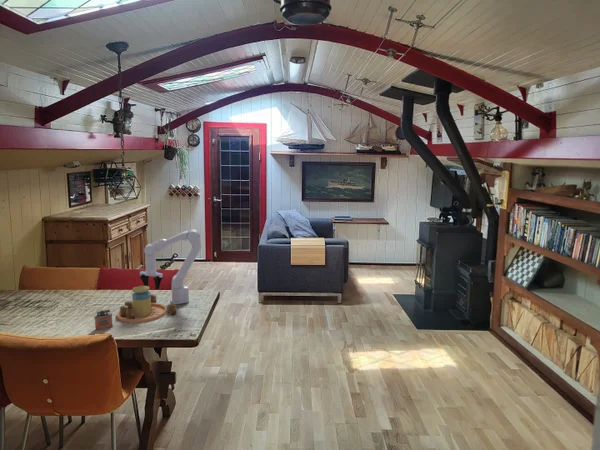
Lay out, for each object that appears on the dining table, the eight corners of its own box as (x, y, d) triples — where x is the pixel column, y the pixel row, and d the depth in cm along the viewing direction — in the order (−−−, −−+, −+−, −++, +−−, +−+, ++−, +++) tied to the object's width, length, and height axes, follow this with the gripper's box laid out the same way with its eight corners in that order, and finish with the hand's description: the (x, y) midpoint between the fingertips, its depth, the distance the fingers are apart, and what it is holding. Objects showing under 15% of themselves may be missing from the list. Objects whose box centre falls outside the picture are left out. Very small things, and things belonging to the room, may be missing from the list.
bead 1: (156, 302, 254) (155, 293, 253) (156, 304, 250) (156, 295, 249) (148, 303, 252) (148, 294, 251) (149, 305, 248) (149, 296, 248)
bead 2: (175, 312, 238) (175, 303, 237) (177, 314, 235) (176, 305, 234) (168, 313, 237) (167, 304, 236) (169, 315, 233) (168, 306, 232)
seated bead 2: (132, 309, 239) (132, 300, 239) (133, 311, 236) (132, 302, 235) (125, 310, 238) (124, 301, 237) (125, 312, 234) (124, 304, 233)
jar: (150, 310, 240) (149, 284, 237) (152, 316, 232) (151, 289, 229) (132, 313, 236) (131, 286, 234) (134, 319, 228) (132, 291, 225)
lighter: (95, 332, 211) (93, 312, 209) (95, 329, 214) (93, 310, 212) (113, 329, 215) (112, 309, 213) (112, 326, 218) (111, 307, 216)
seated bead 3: (134, 317, 228) (133, 308, 227) (135, 320, 224) (134, 310, 224) (126, 318, 226) (125, 309, 226) (126, 321, 223) (126, 311, 222)
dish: (163, 304, 250) (163, 300, 250) (170, 319, 228) (169, 315, 227) (116, 310, 240) (116, 306, 240) (118, 327, 217) (117, 322, 217)
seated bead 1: (128, 314, 233) (127, 305, 232) (128, 316, 229) (128, 307, 228) (120, 315, 231) (119, 306, 230) (120, 317, 227) (120, 308, 227)
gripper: (135, 265, 246) (136, 288, 248) (156, 268, 241) (157, 291, 243) (144, 262, 253) (145, 285, 255) (164, 265, 248) (165, 288, 250)
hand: (152, 288), depth 250 cm, fingers open, 7 cm apart
